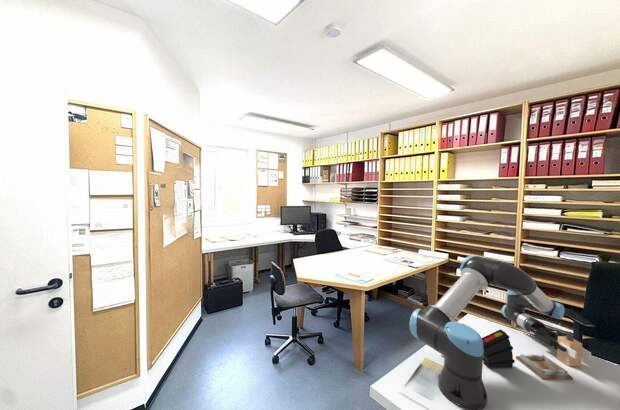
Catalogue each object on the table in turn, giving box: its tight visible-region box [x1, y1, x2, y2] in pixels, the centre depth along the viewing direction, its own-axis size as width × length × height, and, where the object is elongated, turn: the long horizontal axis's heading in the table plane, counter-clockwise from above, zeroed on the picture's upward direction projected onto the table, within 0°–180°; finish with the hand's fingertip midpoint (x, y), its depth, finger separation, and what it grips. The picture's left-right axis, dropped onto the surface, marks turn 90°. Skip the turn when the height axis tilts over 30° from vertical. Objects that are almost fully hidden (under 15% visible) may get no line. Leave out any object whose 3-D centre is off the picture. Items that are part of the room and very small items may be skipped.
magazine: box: [481, 328, 516, 369], centre depth 101 cm, size 4×13×15 cm, turn 92°
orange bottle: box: [556, 331, 583, 367], centre depth 103 cm, size 5×5×13 cm
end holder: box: [515, 354, 574, 381], centre depth 100 cm, size 12×12×2 cm
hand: (582, 355), depth 98 cm, fingers closed on orange bottle, 5 cm apart
